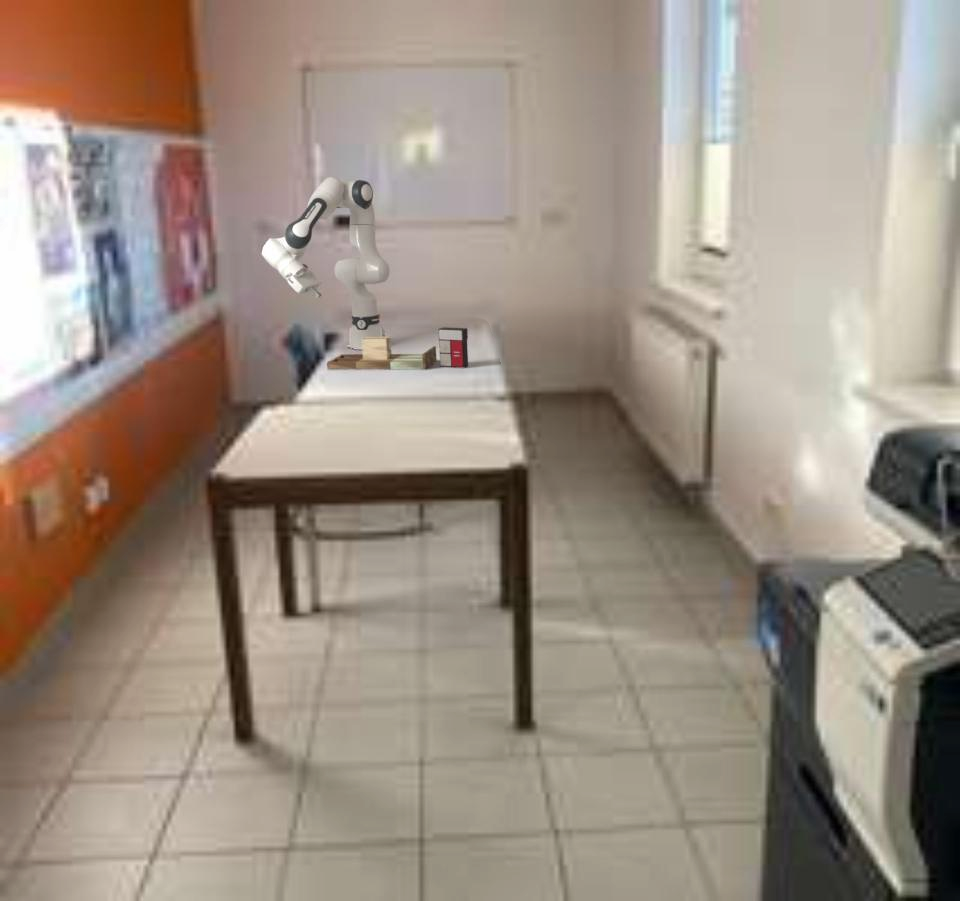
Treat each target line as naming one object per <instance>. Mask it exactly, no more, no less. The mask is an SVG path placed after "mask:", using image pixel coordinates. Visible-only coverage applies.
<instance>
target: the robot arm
mask: <svg viewBox="0 0 960 901" xmlns="http://www.w3.org/2000/svg"><path fill="white" fill-rule="evenodd" d="M373 198H374V190H373V187H372V185H371V184H370V183H369V182H368V181H366V180H363V179H357V180H352V179H350V180H345V181H341V180H340V179H339V178H337V177H334V176H329V177H326V178H325V179H324V180H323V181H322V182H321V183H319V185H318V186H317V187H316V189H315V190H314V191H313V193H312V194H311V196H310V198H309V200H308V202H307V205H306V209H305V210H304V212H303V213H302V214H301V216H300V217H299V218H298V219H296V220H294V221H293V222H291V223H290V224H288V226H287V227H286V228H285V234H284V236H283V237H278V238H272V237H269V239H267V240H266V241H265V242H264V243H263V246H261V253H260V254H261V256H262V257H263V258H264V260H265V261H266V262H267V263H268V264H269V265H270V267H272V268H273V269H274V270H276V271H277V272H278V273H279V275H280V276H281V277H282V278H283V279H284V280H285V281H286V282H287V283H288V285H289V286H290V287H291V288H292V289H293V290H294V291H295V292H296V293H297V294H299V295H301V294H304V293H307V294H309V295H311V296H313V297H314V298H315V299H319V298H321V297H322V295H323V294H322V292H321V291H320V290H319V289H318V287H320V285H321V284H322V283H321V280H320V279H319V277H318V276H317V275H316V274H315V273H314V272H313V271H312V270H310V268H309V267H310V266H308V265H307V264H304V263H303V262H302V263H301V262H300V261H298V260H300V259H301V258H302V257H303V256H304V255H305V254H306V251H307V249H308V248H307V247H308V245H309V243H310V242H311V239H312V235H313V234H312V232H313V229H314V227H315V225H316V224H317V223H318V222H319V220H322V221H323V220H324V221H325V220H327V219H328V218H330V217H331V216H332V214H333V213H335V211H336V209H341V208H343V209H349V211H350V212H349V213H350V216H349V244H350V246H351V247H352V248H354V249H356V251H358V253H359V258H357V257H354V258H351V257H350V258H349V257H348V258H344V259H340V260H338V261H337V262H336V263H335V265H334V268H333V272H334V277H335V279H336V280H337V281H338V282H339V283H341V284H342V285H343V287H344V289H346V292H347V293H348V295H349V299H350V305H351V312H352V313H351V319H350V320H351V327H350V328H349V329H348V330H349V344H346V348H347V347H350V348H349V349H352V348H353V349H352V350H362V339H363V338H365V337H386V333H385V329H384V328H383V326H382V325H381V323H380V318H381V316H380V315H381V314H380V313H378V303H377V301H378V300H377V297H376V296H375V294H374V293H372V292H370V291H369V290H368V289H367V287H366V284H367V285H369V284H370V285H376V284H381V283H385V282H386V281H387V280H388V278H389V277H390V273H391V270H390V266H389V263H388V262H387V261H386V260H385V259H384V258H383V257H382V256H381V254H380V253H379V251H378V248H377V243H376V215H375V208H374V204H373V203H372V202H373V200H374V199H373Z"/></svg>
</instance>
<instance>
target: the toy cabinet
mask: <svg viewBox="0 0 960 901" xmlns="http://www.w3.org/2000/svg"><path fill="white" fill-rule="evenodd" d="M468 335H469V334H468V328H466V327H464V328H463V327H448V326H447V327H446V326H445V327H444V326H443V327H440V328H438V344H439V345H438V346H439V364H440V367H441V366H442V367H441V368H444V367H445V368H456V367H465V368H468V367H469V358H468V357H469V352H468V351H469V350H468V337H469V336H468ZM467 366H468V367H467Z"/></svg>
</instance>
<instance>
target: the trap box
mask: <svg viewBox="0 0 960 901" xmlns="http://www.w3.org/2000/svg"><path fill="white" fill-rule="evenodd" d="M437 361H438V360H437V346H432V347H430V348H429V349H427V351H425V352H423V353H391V357H390V358H389V359H363V353H361V354H359V353H357V354H356V353H353V354H352V353H351V354H350V353H349V354H348V353H341V354H339V355H337V356H336V357H333V358H332V359H330V360H328V361H327V362H326V368H327V369H426V370H427V369H428V368H430V367H431V366H432V365H433V363H434V362H435V363H436V362H437ZM435 363H434V364H435ZM429 366H430V367H429Z"/></svg>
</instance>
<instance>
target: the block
mask: <svg viewBox="0 0 960 901" xmlns="http://www.w3.org/2000/svg"><path fill="white" fill-rule="evenodd" d="M361 352H362V353H361V354H363V359H389V358H390V357H391V354H392V344H391V336H385V337H365V338H363V339H362V349H361Z"/></svg>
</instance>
